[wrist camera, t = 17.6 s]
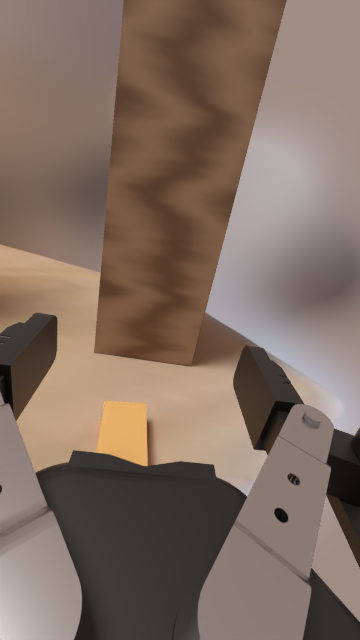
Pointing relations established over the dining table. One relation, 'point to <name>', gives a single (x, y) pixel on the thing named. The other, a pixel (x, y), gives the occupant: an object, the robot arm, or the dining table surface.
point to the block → (124, 431)
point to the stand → (176, 165)
